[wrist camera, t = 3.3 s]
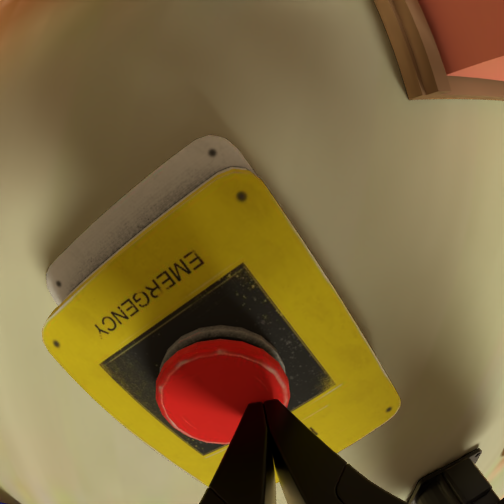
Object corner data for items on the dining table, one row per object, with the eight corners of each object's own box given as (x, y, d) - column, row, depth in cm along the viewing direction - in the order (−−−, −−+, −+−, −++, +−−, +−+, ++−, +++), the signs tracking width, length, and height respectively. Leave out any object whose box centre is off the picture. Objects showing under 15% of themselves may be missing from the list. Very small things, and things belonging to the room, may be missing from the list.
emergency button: (216, 92, 6) (434, 443, 10) (219, 125, 10) (394, 390, 14) (-17, 312, 7) (258, 533, 10) (44, 273, 11) (250, 473, 15)
